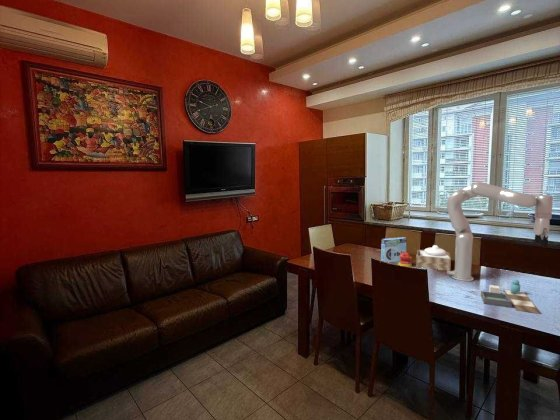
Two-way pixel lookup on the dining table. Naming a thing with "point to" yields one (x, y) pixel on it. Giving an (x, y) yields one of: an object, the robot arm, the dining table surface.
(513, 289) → the pawn
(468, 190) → the robot arm
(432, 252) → the butter dish
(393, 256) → the gum box
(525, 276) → the dining table surface
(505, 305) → the tray
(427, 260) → the dish corral
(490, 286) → the die
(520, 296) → the board
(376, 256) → the dining table surface
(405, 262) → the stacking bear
